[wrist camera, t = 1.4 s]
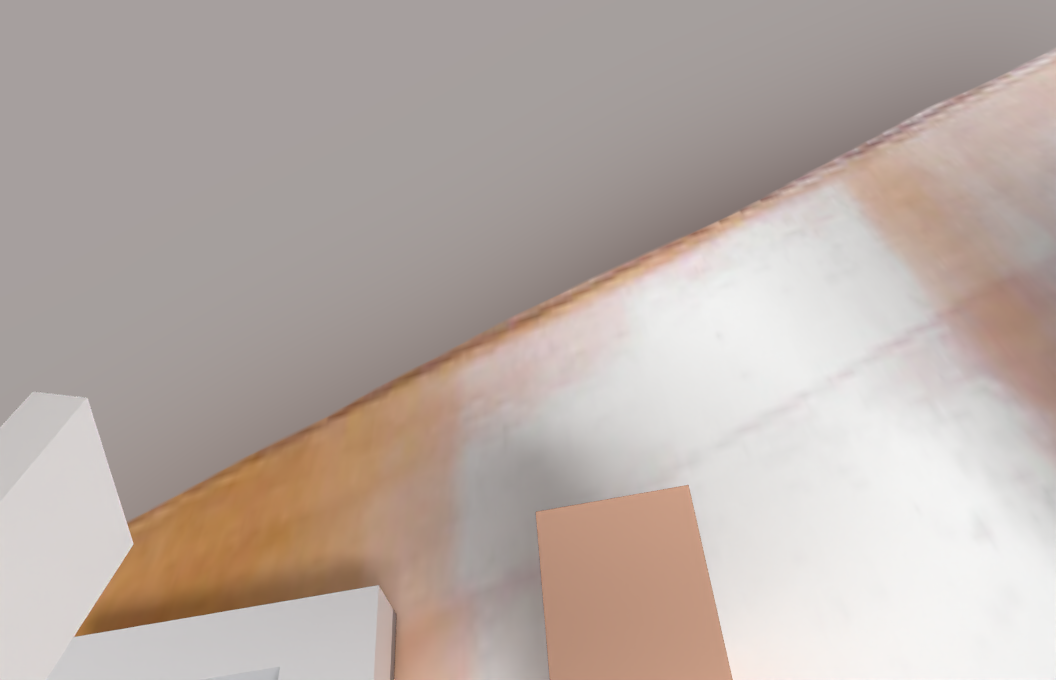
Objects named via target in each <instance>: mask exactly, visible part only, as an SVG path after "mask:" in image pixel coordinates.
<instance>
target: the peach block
mask: <svg viewBox="0 0 1056 680" xmlns="http://www.w3.org/2000/svg"><path fill="white" fill-rule="evenodd" d="M536 521H537V533H538V545H539V557H540V569H541V581H542V593H543V605H544V617H545V629H546V641H547V653H548V665H549V677H550V680H733V679H732V675H731V671H730V666H729V662H728V657H727V653H726V648H725V644H724V640H723V635H722V631H721V626H720V622H719V618H718V613H717V609H716V604H715V600H714V595H713V591H712V587H711V582H710V578H709V573H708V569H707V565H706V560H705V556H704V551H703V547H702V542H701V538H700V534H699V529H698V525H697V520H696V516H695V512H694V507H693V503H692V498H691V494H690V489H689V485H686V486H680V487H674V488H669V489H663V490H657V491H651V492H646V493H640V494H634V495H629V496H623V497H617V498H611V499H606V500H600V501H594V502H589V503H583V504H577V505H571V506H566V507H560V508H554V509H549V510H543V511H537V512H536Z"/></svg>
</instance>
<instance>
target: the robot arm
mask: <svg viewBox="0 0 1056 680" xmlns="http://www.w3.org/2000/svg"><path fill="white" fill-rule="evenodd" d="M132 546H133V541H132V538H131V535H130V531H129V528H128V525H127V522H126V519H125V516H124V512H123V509H122V506H121V503H120V500H119V497H118V494H117V490H116V487H115V484H114V481H113V478H112V474H111V471H110V468H109V465H108V462H107V459H106V456H105V452H104V449H103V446H102V443H101V439H100V436H99V433H98V430H97V427H96V424H95V420H94V417H93V414H92V411H91V408H90V405H89V401H88V398H85V397H76V396H67V395H58V394H49V393H40V392H32V394H30V395H29V397H28V398H27V399H26V400H25V401H24V402H23V403H22V404H21V405H20V406H19V407H18V409H17V410H16V411H15V412H14V413H13V414H12V415H11V416H10V417H9V418H8V419H7V420H6V422H5V423H4V424H3V425H2V426H1V427H0V680H46V679H47V677H48V676H49V674H50V673H51V671H52V670H53V668H54V667H55V665H56V664H57V662H58V660H59V659H60V657H61V656H62V654H63V653H64V651H65V650H66V648H67V646H68V645H69V643H70V642H71V640H72V639H73V637H74V636H75V634H76V633H77V631H78V629H79V628H80V626H81V625H82V623H83V622H84V620H85V619H86V617H87V616H88V614H89V612H90V611H91V609H92V608H93V606H94V605H95V603H96V602H97V600H98V598H99V597H100V595H101V594H102V592H103V591H104V589H105V588H106V586H107V585H108V583H109V581H110V580H111V578H112V577H113V575H114V574H115V572H116V571H117V569H118V568H119V566H120V564H121V563H122V561H123V560H124V558H125V557H126V555H127V554H128V552H129V550H130V549H131V547H132Z"/></svg>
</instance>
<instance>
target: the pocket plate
mask: <svg viewBox="0 0 1056 680" xmlns="http://www.w3.org/2000/svg"><path fill="white" fill-rule="evenodd" d="M395 637H396V613H395V612H394V610H393V608H392V607H391V605H390V603H389V601H388V600H387V598H386V596H385V595H384V593H383V591H382V590H381V588H380V586H379V585H377V586H371V587H365V588H359V589H353V590H348V591H342V592H336V593H330V594H324V595H318V596H312V597H306V598H301V599H295V600H289V601H283V602H277V603H271V604H265V605H259V606H254V607H248V608H242V609H236V610H230V611H224V612H218V613H213V614H207V615H201V616H195V617H189V618H183V619H177V620H171V621H166V622H160V623H154V624H148V625H142V626H136V627H130V628H125V629H119V630H113V631H107V632H101V633H95V634H89V635H83V636H78V637H73V639H72V640H71V642H70V643H69V645H68V646H67V648H66V650H65V651H64V653H63V654H62V656H61V657H60V659H59V660H58V662H57V664H56V665H55V667H54V668H53V670H52V671H51V673H50V674H49V676H48V677H47V679H46V680H394V663H395Z"/></svg>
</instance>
